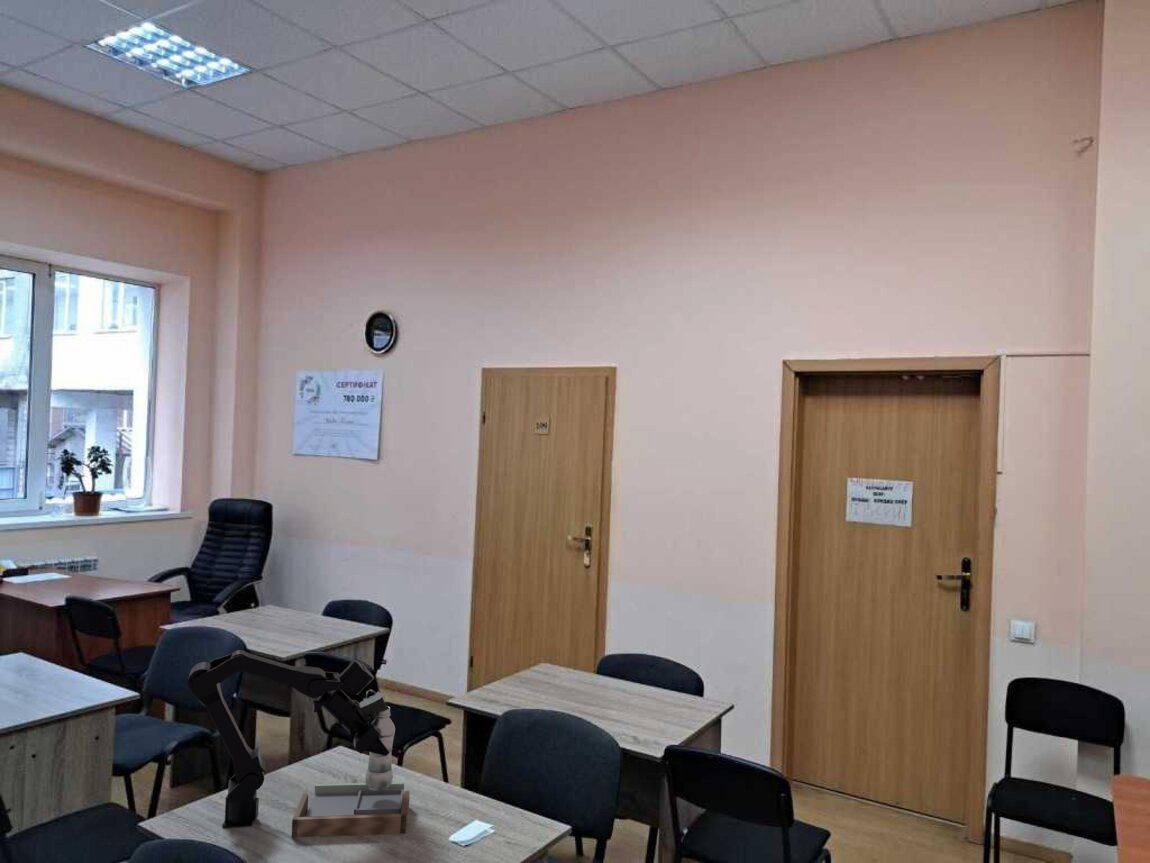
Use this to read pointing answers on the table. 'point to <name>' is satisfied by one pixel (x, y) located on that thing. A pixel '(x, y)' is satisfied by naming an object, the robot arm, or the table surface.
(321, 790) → the tray
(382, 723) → the plastic bottle
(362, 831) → the dock
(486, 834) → the table surface
